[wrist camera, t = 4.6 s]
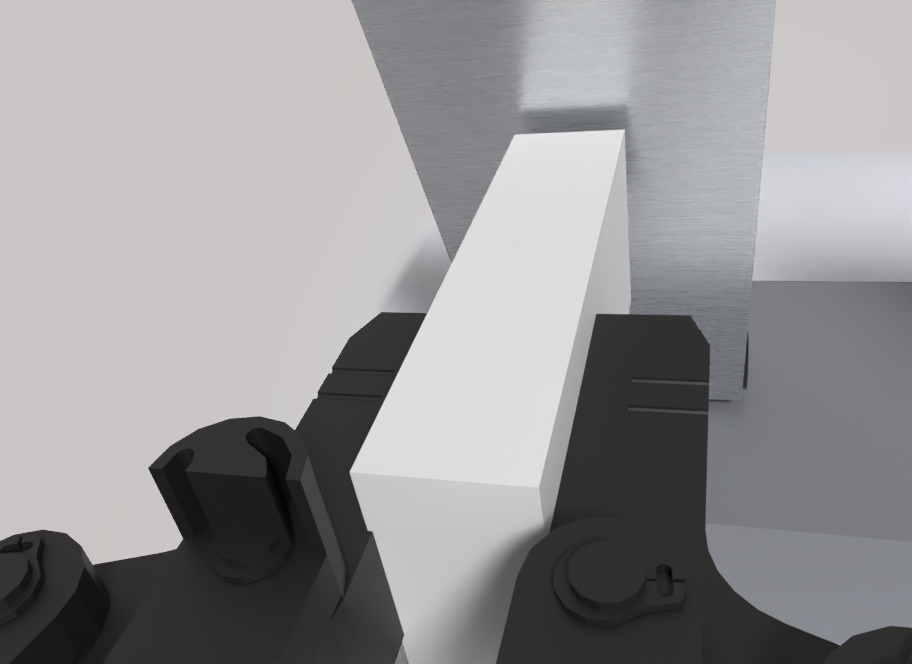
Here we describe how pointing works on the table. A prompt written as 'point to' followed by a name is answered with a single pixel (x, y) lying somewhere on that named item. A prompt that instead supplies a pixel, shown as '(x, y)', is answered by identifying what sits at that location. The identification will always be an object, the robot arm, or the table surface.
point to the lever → (601, 128)
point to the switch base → (818, 459)
